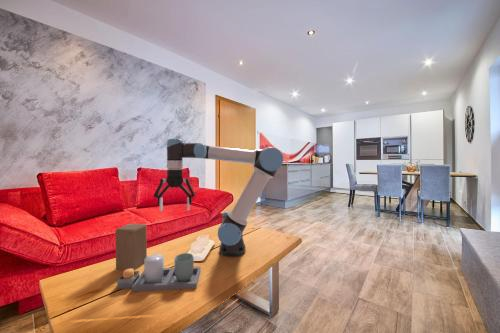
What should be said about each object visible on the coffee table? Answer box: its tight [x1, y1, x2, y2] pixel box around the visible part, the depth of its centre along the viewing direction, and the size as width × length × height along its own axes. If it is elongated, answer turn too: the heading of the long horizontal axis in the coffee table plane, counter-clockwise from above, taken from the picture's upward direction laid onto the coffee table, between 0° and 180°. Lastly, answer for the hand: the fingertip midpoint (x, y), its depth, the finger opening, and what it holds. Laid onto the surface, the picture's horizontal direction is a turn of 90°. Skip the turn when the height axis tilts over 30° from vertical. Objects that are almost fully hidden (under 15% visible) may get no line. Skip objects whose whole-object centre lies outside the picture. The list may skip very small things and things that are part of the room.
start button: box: [122, 268, 135, 278], centre depth 88 cm, size 4×4×4 cm
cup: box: [174, 252, 195, 282], centre depth 92 cm, size 8×8×10 cm
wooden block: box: [115, 222, 148, 271], centre depth 104 cm, size 10×10×20 cm
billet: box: [143, 253, 165, 284], centre depth 91 cm, size 8×8×10 cm
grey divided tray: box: [131, 266, 202, 293], centre depth 91 cm, size 25×14×3 cm, turn 96°
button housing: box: [116, 270, 140, 290], centre depth 88 cm, size 6×6×4 cm
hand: (174, 210), depth 109 cm, fingers open, 13 cm apart
